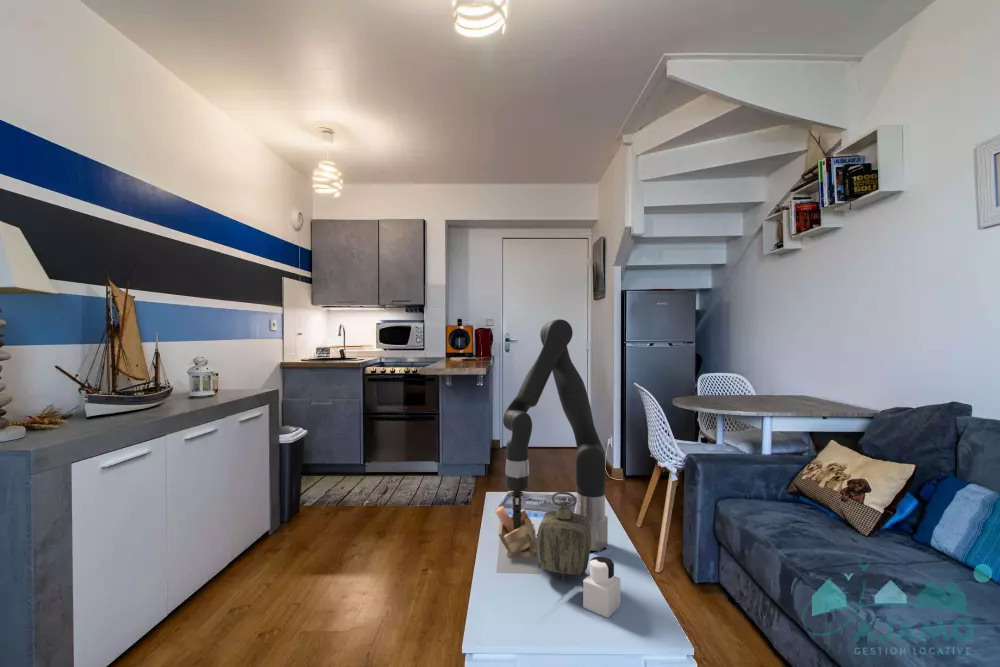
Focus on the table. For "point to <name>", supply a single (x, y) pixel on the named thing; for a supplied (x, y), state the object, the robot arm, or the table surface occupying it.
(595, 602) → the white blocky bust
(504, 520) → the peg
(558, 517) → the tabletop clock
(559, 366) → the robot arm
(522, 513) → the socket
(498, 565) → the board
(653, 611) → the table surface
